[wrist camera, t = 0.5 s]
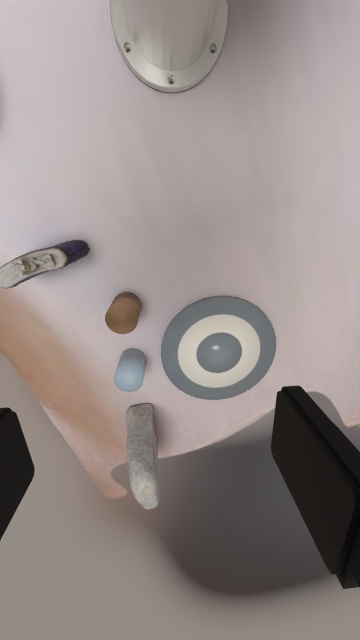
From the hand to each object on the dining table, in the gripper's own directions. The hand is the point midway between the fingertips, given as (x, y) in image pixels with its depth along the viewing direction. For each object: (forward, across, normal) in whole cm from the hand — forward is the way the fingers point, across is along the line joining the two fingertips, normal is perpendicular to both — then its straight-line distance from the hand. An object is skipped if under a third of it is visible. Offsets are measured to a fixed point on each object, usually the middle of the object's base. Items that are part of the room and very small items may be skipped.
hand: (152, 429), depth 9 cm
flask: (+31, +14, -4) cm, 35 cm away
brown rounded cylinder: (+31, +6, +4) cm, 32 cm away
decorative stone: (+32, +5, +29) cm, 44 cm away
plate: (+32, -9, +14) cm, 36 cm away
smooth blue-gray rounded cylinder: (+32, +6, +14) cm, 35 cm away
